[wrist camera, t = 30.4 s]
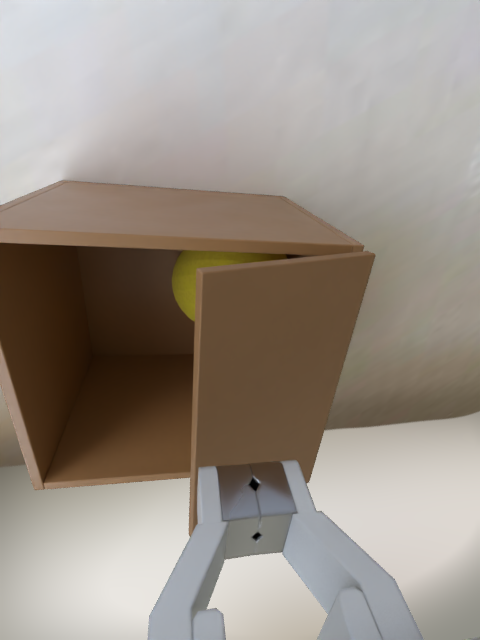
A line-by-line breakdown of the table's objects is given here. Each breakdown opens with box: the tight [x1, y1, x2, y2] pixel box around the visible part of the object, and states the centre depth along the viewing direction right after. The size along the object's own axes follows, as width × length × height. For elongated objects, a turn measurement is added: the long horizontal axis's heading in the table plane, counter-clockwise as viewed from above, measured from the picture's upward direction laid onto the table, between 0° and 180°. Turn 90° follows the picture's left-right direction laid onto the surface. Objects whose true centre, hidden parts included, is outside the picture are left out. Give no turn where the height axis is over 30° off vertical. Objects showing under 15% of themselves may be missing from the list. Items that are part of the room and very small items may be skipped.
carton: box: [0, 180, 364, 490], centre depth 18 cm, size 12×13×10 cm
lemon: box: [172, 250, 288, 322], centre depth 18 cm, size 6×6×8 cm
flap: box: [189, 251, 375, 537], centre depth 13 cm, size 12×6×1 cm, turn 175°
